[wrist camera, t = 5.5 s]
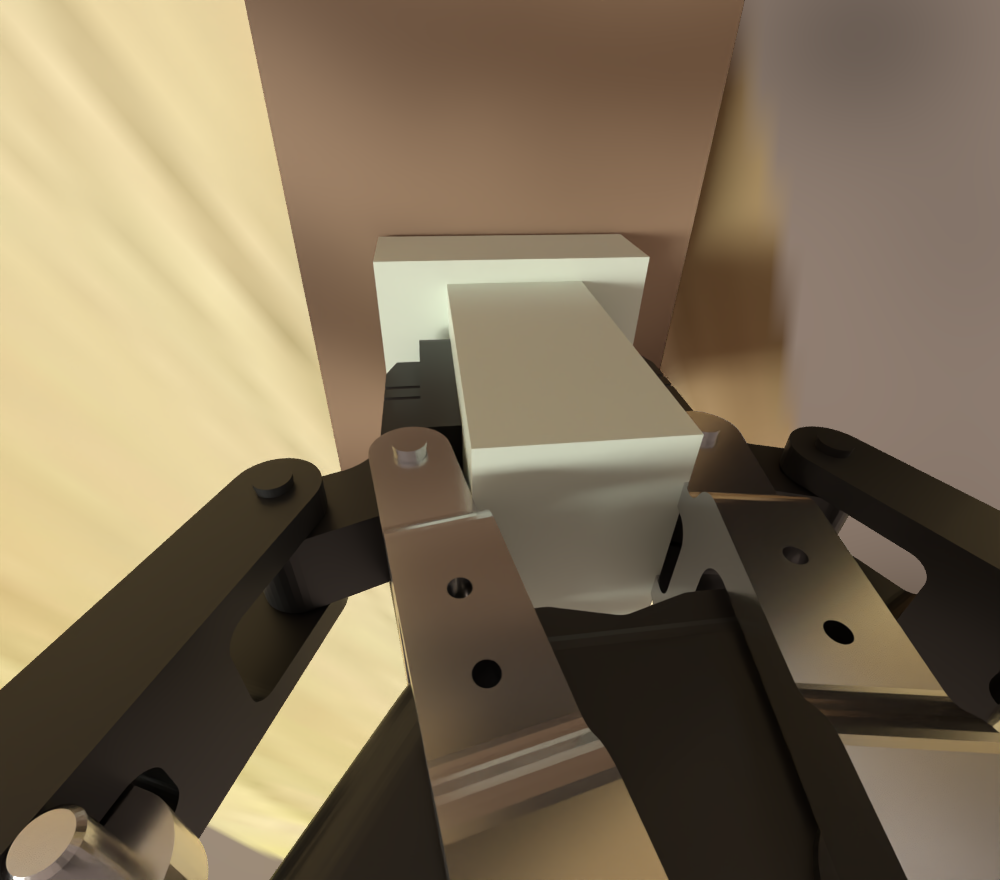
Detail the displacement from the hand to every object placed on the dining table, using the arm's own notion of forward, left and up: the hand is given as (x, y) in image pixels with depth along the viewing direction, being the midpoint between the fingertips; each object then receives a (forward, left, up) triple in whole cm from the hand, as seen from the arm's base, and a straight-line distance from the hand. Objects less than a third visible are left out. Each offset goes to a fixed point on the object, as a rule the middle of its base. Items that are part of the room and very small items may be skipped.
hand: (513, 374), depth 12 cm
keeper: (0, 0, -3) cm, 3 cm away
